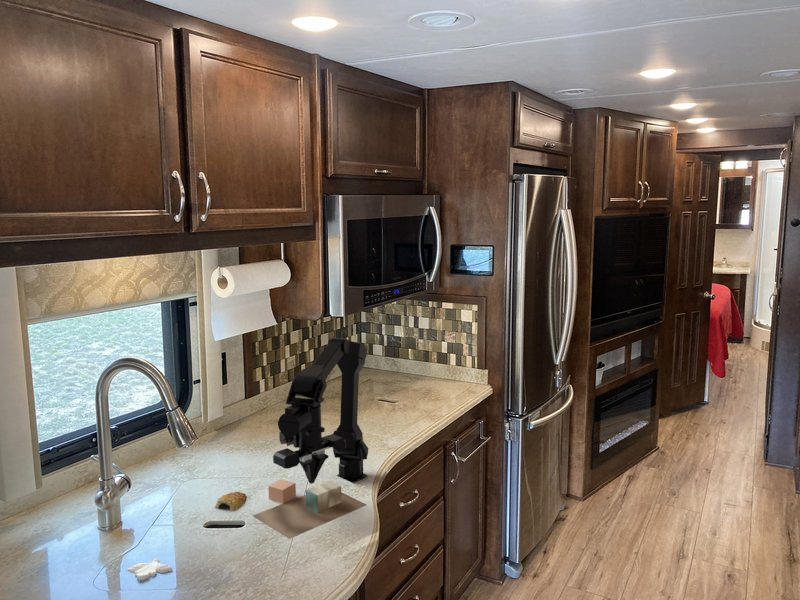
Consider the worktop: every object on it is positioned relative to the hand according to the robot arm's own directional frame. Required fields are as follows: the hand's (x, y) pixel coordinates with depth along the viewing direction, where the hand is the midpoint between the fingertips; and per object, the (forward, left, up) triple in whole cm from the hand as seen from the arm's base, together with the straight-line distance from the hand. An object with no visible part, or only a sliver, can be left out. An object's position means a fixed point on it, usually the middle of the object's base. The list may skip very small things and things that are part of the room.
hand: (311, 482), depth 162 cm
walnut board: (0, 0, -8) cm, 8 cm away
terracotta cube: (+1, -11, -8) cm, 14 cm away
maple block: (0, 0, -5) cm, 5 cm away
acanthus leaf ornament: (+40, -4, -9) cm, 41 cm away
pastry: (+13, -18, -9) cm, 24 cm away
